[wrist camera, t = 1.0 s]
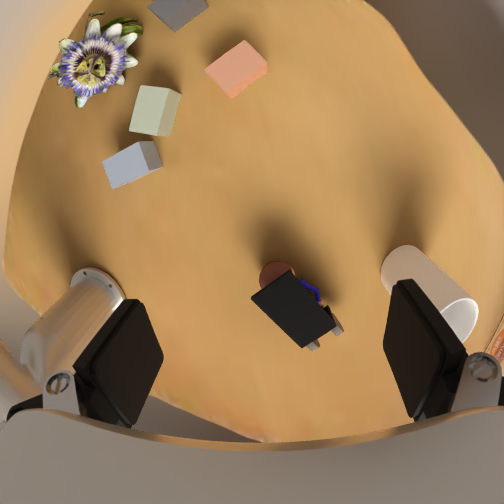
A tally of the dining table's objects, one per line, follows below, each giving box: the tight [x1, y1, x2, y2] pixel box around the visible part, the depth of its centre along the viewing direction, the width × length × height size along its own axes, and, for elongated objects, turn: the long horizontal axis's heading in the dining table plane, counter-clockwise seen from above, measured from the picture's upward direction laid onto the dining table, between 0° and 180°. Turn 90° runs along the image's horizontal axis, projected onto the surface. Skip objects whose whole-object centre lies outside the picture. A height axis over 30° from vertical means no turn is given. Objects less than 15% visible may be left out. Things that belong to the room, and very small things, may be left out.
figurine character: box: [251, 261, 344, 351], centre depth 38 cm, size 7×8×15 cm
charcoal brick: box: [147, 0, 208, 32], centre depth 24 cm, size 6×4×5 cm, turn 129°
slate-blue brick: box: [102, 141, 163, 189], centre depth 33 cm, size 6×4×5 cm, turn 109°
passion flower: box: [48, 11, 143, 108], centre depth 25 cm, size 13×12×14 cm
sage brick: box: [129, 85, 182, 136], centre depth 30 cm, size 6×4×5 cm, turn 164°
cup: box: [381, 245, 478, 343], centre depth 31 cm, size 8×8×16 cm
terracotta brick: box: [204, 40, 267, 99], centre depth 28 cm, size 6×4×5 cm, turn 129°
